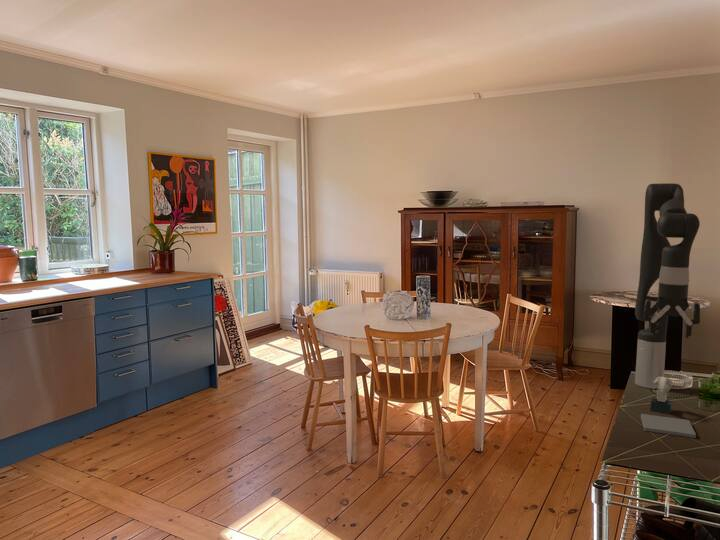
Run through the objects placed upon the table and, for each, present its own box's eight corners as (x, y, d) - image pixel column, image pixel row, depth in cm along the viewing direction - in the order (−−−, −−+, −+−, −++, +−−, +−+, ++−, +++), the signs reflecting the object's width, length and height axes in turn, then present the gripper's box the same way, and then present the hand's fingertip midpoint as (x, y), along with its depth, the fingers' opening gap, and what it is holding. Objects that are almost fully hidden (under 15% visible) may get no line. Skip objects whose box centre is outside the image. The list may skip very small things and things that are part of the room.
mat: (640, 416, 170) (640, 413, 170) (688, 423, 165) (688, 420, 165) (644, 430, 159) (644, 427, 159) (695, 438, 154) (696, 434, 154)
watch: (671, 408, 177) (674, 375, 176) (669, 416, 171) (671, 382, 169) (652, 405, 180) (654, 372, 179) (649, 412, 174) (651, 378, 173)
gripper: (699, 281, 159) (695, 335, 161) (645, 278, 165) (641, 331, 167) (704, 285, 152) (700, 341, 154) (647, 282, 158) (643, 336, 160)
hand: (669, 336), depth 160 cm, fingers open, 8 cm apart
